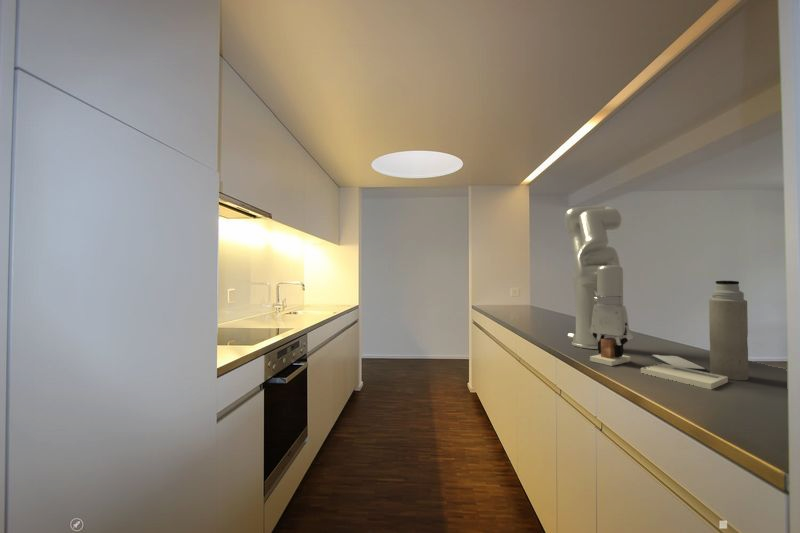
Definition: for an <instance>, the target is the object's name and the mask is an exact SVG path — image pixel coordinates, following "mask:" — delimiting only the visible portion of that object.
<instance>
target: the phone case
mask: <svg viewBox="0 0 800 533" xmlns="http://www.w3.org/2000/svg"><path fill="white" fill-rule="evenodd" d="M651 358H652V359H651ZM650 359H651V360H653V359H654V361H656V362H657V363H660V362H661V363H663V364H668V365H672V366H677V367H682V368H687V369H692V370H697V371H702V372H707V373H708V371H707V368H705V367H703V366H700V365H699V364H696V363H694V362H692V361H689V360H687V359H685V358H682V357H681V356H677V355H666V354H650Z"/></svg>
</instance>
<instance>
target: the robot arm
mask: <svg viewBox="0 0 800 533" xmlns="http://www.w3.org/2000/svg"><path fill="white" fill-rule="evenodd" d="M621 216H622V215H621V213H620V211H619V210H618V209H617V208H615V207H612V206H609V205H592V206H591V205H590V206H589V205H587V206H575V207H572V208H569V209H567V210H566V211H565V214H564V225H565V230H566V231H567V234H568V236H569V238H570V240H571V246H572V254H573V270H574V273H573V276H572V282H573V288H574V296H575V333H572V332H568V334H567V338H569V339H572V341H571V345H572V346H573V347H577V348H581V349H588V350H590V349H591V350H598V355H599V354H601V339H604V338H606V336H611V337H614V338H615V339H616V342H617V345H615V356H616V357H622V355H624V345H625V344H626V343H627V342H629V341H630V340H632V339H635V337H636V336H635V334H634V333H633V332H632V331H631V329H630V328H629V318H628V312H627V308H626V306H624V270H623V267H622V265H621V264H620V261H619V259H620V258H619V255H618V251H617V250H616V249H615V248H614V247H612V246H608V244H609V237H608V233H607V231H609V230H610V231H611V230H612V231H613V230H617V229H619V228H620V227H621V223H622V217H621ZM596 294H597V295H596ZM624 336H625V337H624Z"/></svg>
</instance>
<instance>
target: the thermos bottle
mask: <svg viewBox="0 0 800 533" xmlns="http://www.w3.org/2000/svg"><path fill="white" fill-rule="evenodd" d="M715 284H716V286H715V290H713V291H712V293H711V296H712V297H711V298H709V299H708V301H709V302H708V307H709V310H708V311H709V313H708V314H709V315H708V316H709V317H708V318H709V373H712V374H717V375H722V376H727V377H728V380H735V381H747V380H749V347H748V346H749V345H748V335H749V332H748V331H749V330H748V328H749V327H748V301H747V300H746V299H744V298H745V294H744V292H742V291H741V290H740V285H739V284H740V282H739V281H738V280H717V281H715Z"/></svg>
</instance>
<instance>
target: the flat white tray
mask: <svg viewBox="0 0 800 533" xmlns="http://www.w3.org/2000/svg"><path fill="white" fill-rule="evenodd" d="M642 373H644V374H643V375H647V374H648V375H647V376H651V375H652V377H655V376H656V378H660V379H663V380H668V379H669V381H672V380H673V382H676V381H677V383H681V384H686V385H689V384H690V386H693V385H694V387H699V388H703V389H706V390H710V391H711V390H714V389H715V388H719V387H720V386H723V385H725V384H726V383H728V382H729V379H728V377H727V376H722V375H717V374H712V373H710V372H708V371H707V372H702V371H697V370H692V369H687V368H682V367H677V366H672V365H668V364H663V363H660V362H657V363H654V364H651V365H647V366H643V367H640V374H642Z"/></svg>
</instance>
